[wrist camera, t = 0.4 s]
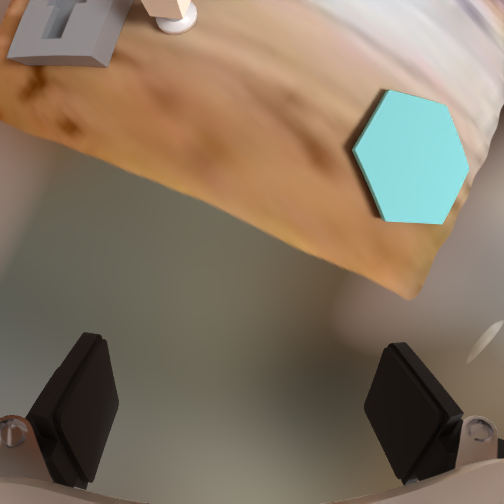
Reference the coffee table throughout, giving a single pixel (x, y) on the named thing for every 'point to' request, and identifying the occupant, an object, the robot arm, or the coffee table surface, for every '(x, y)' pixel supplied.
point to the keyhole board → (69, 32)
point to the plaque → (411, 159)
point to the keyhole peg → (172, 15)
